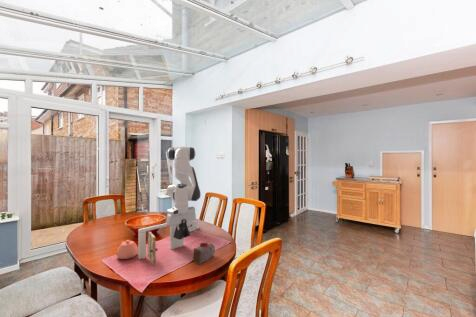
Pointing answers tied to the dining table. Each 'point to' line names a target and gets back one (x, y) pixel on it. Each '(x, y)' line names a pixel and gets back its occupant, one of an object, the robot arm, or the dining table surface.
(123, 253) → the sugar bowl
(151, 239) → the door
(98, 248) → the dining table surface
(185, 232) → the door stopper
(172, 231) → the wall frame
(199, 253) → the dark grey block
